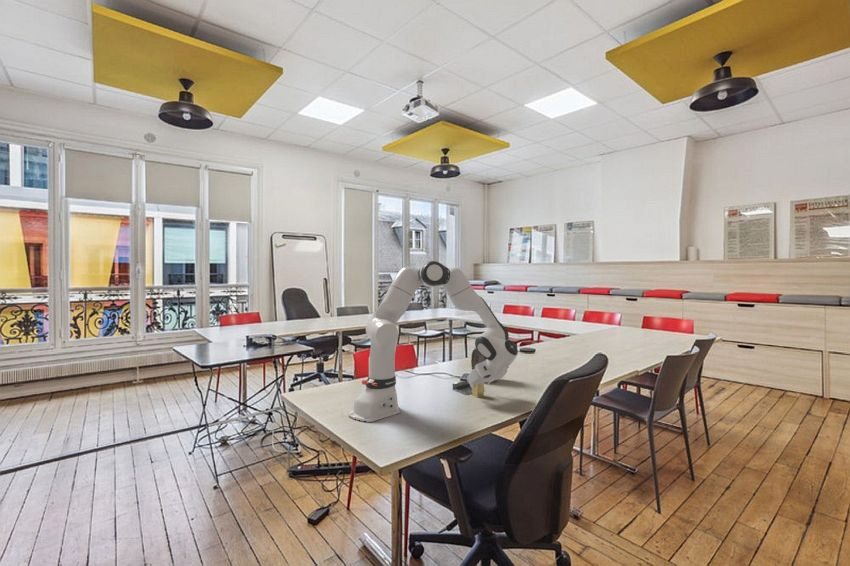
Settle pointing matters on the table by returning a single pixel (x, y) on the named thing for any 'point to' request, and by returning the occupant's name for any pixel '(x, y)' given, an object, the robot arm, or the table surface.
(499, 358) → the robot arm
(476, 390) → the tan wooden block
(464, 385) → the fixed leaf
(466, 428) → the table surface
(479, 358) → the tabletop clock
